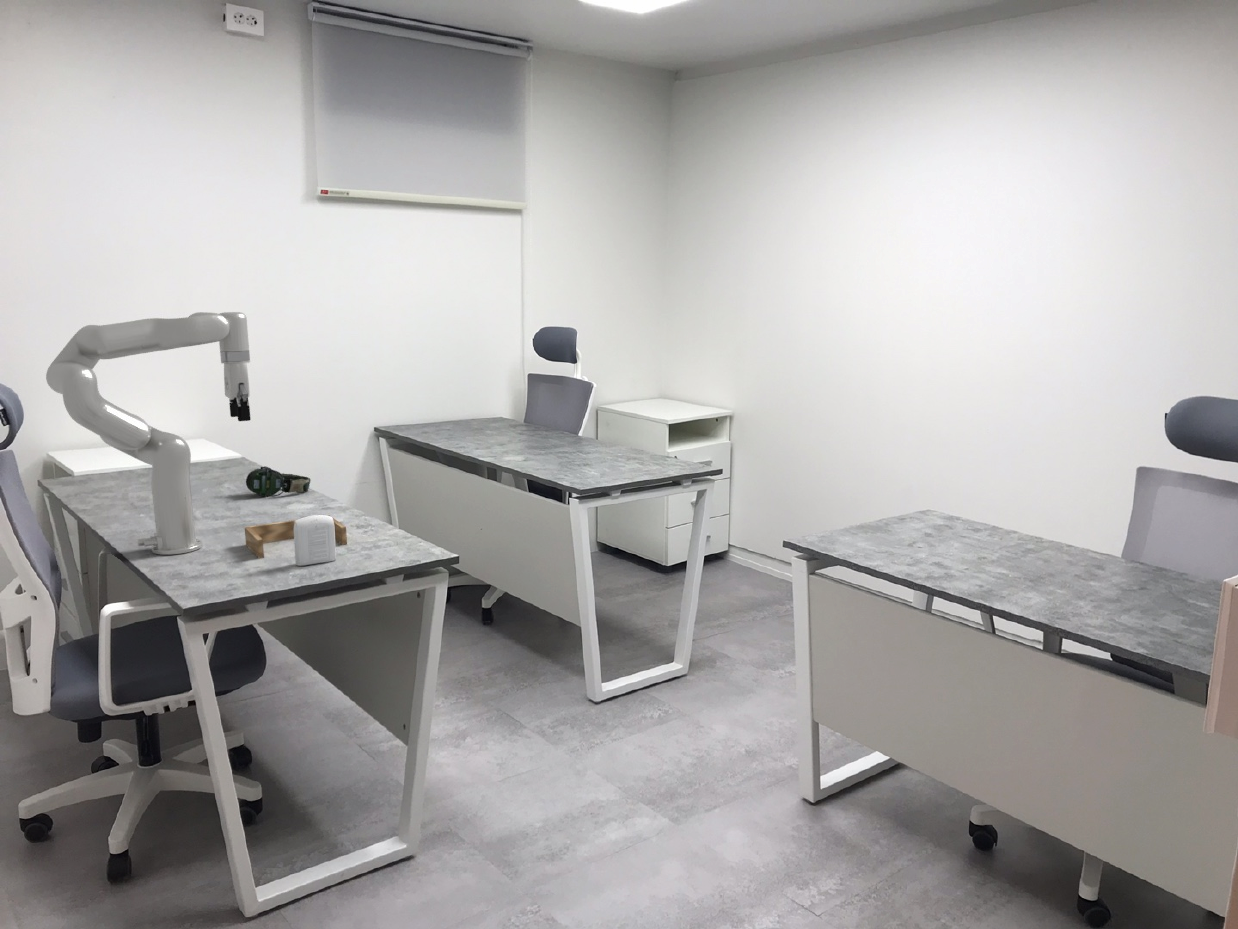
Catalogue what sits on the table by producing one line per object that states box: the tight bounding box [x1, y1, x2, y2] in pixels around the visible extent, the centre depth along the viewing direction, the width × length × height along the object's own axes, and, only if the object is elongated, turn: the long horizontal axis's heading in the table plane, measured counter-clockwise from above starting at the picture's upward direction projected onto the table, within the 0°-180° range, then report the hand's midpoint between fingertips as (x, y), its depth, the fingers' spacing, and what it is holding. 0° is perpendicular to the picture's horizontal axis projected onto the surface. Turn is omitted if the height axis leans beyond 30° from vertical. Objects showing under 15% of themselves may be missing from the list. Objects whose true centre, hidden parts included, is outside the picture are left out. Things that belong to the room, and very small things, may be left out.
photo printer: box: [293, 514, 337, 567], centre depth 246 cm, size 10×4×12 cm, turn 123°
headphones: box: [245, 466, 312, 498], centre depth 324 cm, size 13×13×20 cm
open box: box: [244, 515, 348, 559], centre depth 263 cm, size 23×16×5 cm
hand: (240, 418), depth 268 cm, fingers open, 9 cm apart
